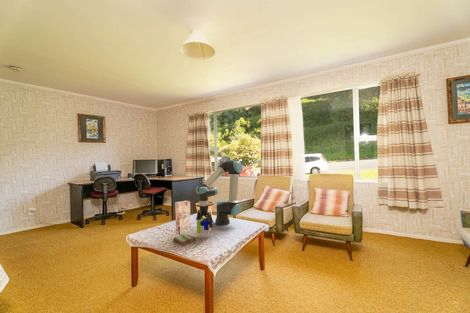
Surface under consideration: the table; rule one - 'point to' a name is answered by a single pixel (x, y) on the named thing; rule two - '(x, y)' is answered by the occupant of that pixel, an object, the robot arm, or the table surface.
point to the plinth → (184, 239)
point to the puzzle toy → (203, 226)
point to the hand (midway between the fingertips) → (204, 229)
